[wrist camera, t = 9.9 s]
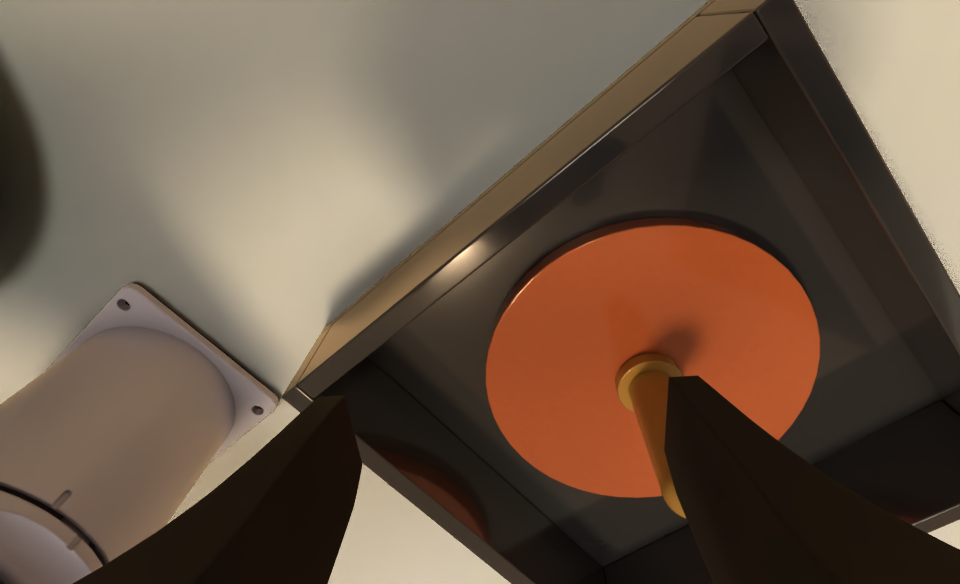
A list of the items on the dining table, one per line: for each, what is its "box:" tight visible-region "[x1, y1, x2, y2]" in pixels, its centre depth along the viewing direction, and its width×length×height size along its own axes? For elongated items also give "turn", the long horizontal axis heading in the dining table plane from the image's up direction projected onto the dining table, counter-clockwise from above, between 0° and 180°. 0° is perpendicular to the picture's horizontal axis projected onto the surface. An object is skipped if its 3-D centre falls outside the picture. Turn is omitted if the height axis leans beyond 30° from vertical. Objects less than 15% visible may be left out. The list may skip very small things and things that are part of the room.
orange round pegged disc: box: [486, 217, 820, 519], centre depth 19 cm, size 13×13×7 cm
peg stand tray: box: [282, 0, 960, 584], centre depth 20 cm, size 19×20×5 cm
